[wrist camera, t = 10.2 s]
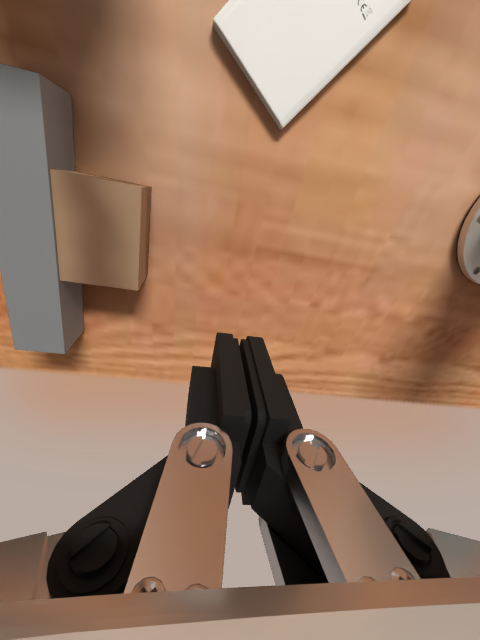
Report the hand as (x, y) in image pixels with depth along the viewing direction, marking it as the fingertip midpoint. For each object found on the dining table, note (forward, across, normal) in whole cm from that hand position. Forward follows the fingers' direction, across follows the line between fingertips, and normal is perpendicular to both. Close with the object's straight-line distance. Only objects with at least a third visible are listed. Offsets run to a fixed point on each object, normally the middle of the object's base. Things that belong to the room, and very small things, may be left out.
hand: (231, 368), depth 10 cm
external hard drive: (+20, -4, -18) cm, 27 cm away
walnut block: (+19, +9, -1) cm, 21 cm away
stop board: (+18, +14, 0) cm, 23 cm away
